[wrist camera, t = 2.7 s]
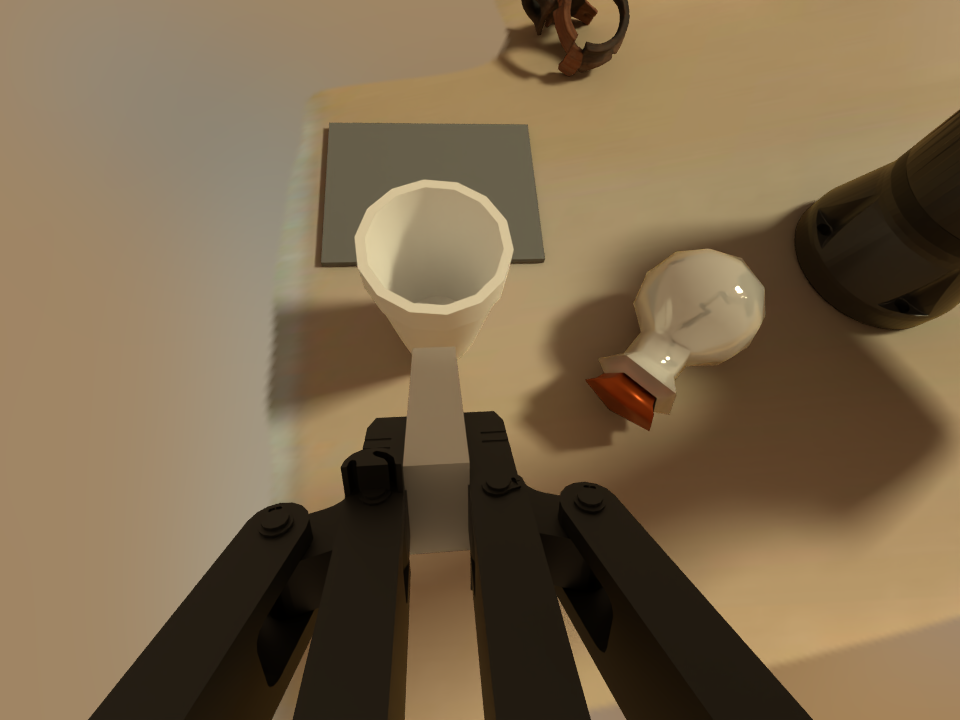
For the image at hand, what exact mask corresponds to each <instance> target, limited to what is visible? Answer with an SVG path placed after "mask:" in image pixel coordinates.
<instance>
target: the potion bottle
mask: <svg viewBox="0 0 960 720" xmlns="http://www.w3.org/2000/svg"><path fill="white" fill-rule="evenodd" d="M633 304H634V308H635V312H636V316H637V319H638V323H639V327H640V330H641V333H640V334H639V335H638V336H637V338H636V339H635V340H634V341H633V342H632V344H631V345H630V346H629V347H628V349H627V350H626V351H625V352H624V353H622V354H617V355H612V356H607V357H602V358H598V360H599V362H600V365H601V367H602V369H603V371H604V373H603V374H602V375H600V376H598V377H597V378H592V379H586V382H587V383H588V384H589V385H590V387H591V388H592V389H593V390H594V392H595V393H596V394H597V395H598V397H599V398H600V399H601V400H602V401H603V403H604V404H605V405H606V406H607V408H608V409H609V410H611V411H613V412H615V413H616V414H618V415H620V416H622V417H624V418H626V419H627V420H629V421H631V422H633V423H635V424H637V425H639V426H640V427H642V428H644V429H646V430H648V431H650V427H651V423H652V419H653V416H654V413H653V412H656V413H662V414H668V415H669V414H670V411H671V409H672V406H673V403H674V400H675V397H676V388H675V380H676V379H677V377H678V376H679V375H680V373H681V372H682V371H683V369H684V368H685V367H686V366H714V365H719V364H720V363H722V362H724V361H726V360H728V359H730V358H731V357H733V356H734V355H736V354H738V353H739V352H741V351H742V350H744V349H746V348H747V347H749V345H750V343H751V342H752V340H753V338H754V336H755V335H756V333H757V331H758V329H759V328H760V326H761V324H762V321H763V319H764V317H765V315H766V312H765V288H764V286H763V285H762V284H761V282H760V281H759V280H758V278H757V277H756V276H755V275H754V273H753V272H752V271H751V269H750V268H749V267H748V265H747V264H746V263H745V261H744V260H743V259H742V258H740V257H736V256H733V255H729V254H726V253H722V252H719V251H715V250H712V249H699V250H688V251H677V252H675V253H673V254H672V255H671V256H669V257H668V258H666V259H665V260H664V261H662V262H661V263H659V264H658V265H657V266H655V267H654V268H652V269H651V270H650V271H648V272H647V273H646V276H645V278H644V280H643V282H642V284H641V287H640V289H639V291H638V293H637V296H636V298H635V300H634V302H633Z"/></svg>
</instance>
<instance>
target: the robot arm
mask: <svg viewBox="0 0 960 720" xmlns="http://www.w3.org/2000/svg"><path fill="white" fill-rule="evenodd" d="M795 247H796V253H797V257H798V260H799V263H800V265H801V268H802V270H803V272H804V273H805V275H806V277H807V278H808V280H809V281H810V283H811V284H812V286H813V287H814V288H815V289H816V290H817V292H818V293H819V294H820V295H821V296H822V297H823V298H824V299H825V300H826V301H828V302H829V303H830V304H831V305H832V306H834V307H835V308H836V309H838V310H839V311H841V312H842V313H844V314H846V315H847V316H849V317H851V318H853V319H855V320H857V321H860V322H862V323H865V324H868V325H871V326H875V327H879V328H885V329H906V328H911V327H915V326H918V325H920V324H923V323H925V322H927V321H930V320H932V319H934V318H937V317H939V316H941V315H943V314H945V313H947V312H948V311H950V310H951V309H953V308H954V307H955V306H956V305H958V304H959V303H960V110H958V111H957V112H956V113H955V114H953V115H952V116H951V117H949V118H948V119H947V120H946V121H944V122H943V123H942V124H941V125H939V126H938V127H937V128H936V129H934V130H933V131H932V132H931V133H929V134H928V135H927V136H926V137H924V138H923V139H922V140H921V141H919V142H918V143H917V144H916V145H915V146H913V147H912V148H911V149H910V150H908V151H907V152H906V153H905V154H903V155H902V156H901V157H899V158H898V159H897V160H895V161H894V162H892V163H889V164H887V165H885V166H883V167H881V168H878V169H876V170H874V171H872V172H869V173H867V174H865V175H863V176H860V177H858V178H856V179H854V180H852V181H849V182H847V183H845V184H843V185H840V186H838V187H836V188H834V189H832V190H831V191H829V192H828V193H826V194H825V195H824V196H822V197H821V198H820V199H819V200H818V201H817V202H815V203H814V204H813V205H812V206H811V207H810V208H809V209H807V210H806V212H805V213H804V214H803V215H802V217H801V219H800V220H799V223H798V225H797V229H796V234H795ZM341 473H342V479H343V485H344V492H345V499H344V500H343V501H341V502H340V503H338V504H336V505H334V506H332V507H329V508H327V509H324V510H320V511H317V512H314V513H310V514H308V511H307V510H306V509H305V508H304V507H303V506H302V505H299V504H295V503H279V504H275V505H272V506H268V507H266V508H265V509H263V510H261V511H259V512H257V513H256V514H255V515H254V516H253V517H252V518H251V519H249V520H248V521H247V523H246V524H245V525H244V526H243V528H242V529H241V530H240V531H239V533H238V534H237V535H236V536H235V538H234V539H233V540H232V541H231V542H230V544H229V545H228V546H227V547H226V549H225V550H224V551H223V552H222V554H221V555H220V556H219V557H218V559H217V560H216V561H215V563H214V564H213V565H212V566H211V568H210V569H209V570H208V571H207V572H206V574H205V575H204V576H203V577H202V579H201V580H200V581H199V582H198V584H197V585H196V586H195V587H194V589H193V590H192V591H191V593H190V594H189V595H188V596H187V597H186V599H185V600H184V601H183V602H182V603H181V605H180V606H179V607H178V608H177V610H176V611H175V612H174V613H173V615H172V616H171V617H170V618H169V620H168V621H167V622H166V623H165V625H164V626H163V627H162V628H161V630H160V631H159V632H158V634H157V635H156V636H155V637H154V638H153V640H152V641H151V642H150V643H149V645H148V646H147V647H146V649H145V650H144V651H143V652H142V653H141V655H140V656H139V657H138V658H137V660H136V661H135V662H134V664H133V665H132V666H131V667H130V668H129V670H128V671H127V672H126V673H125V675H124V676H123V677H122V678H121V679H120V681H119V682H118V683H117V684H116V686H115V687H114V688H113V689H112V691H111V692H110V693H109V694H108V696H107V697H106V698H105V699H104V701H103V702H102V703H101V705H100V706H99V707H98V708H97V709H96V711H95V712H94V713H93V714H92V716H91V717H90V718H89V719H88V720H272V718H273V716H274V714H275V712H276V710H277V707H278V705H279V703H280V701H281V699H282V697H283V695H284V693H285V691H286V689H287V687H288V685H289V683H290V681H291V679H292V677H293V674H294V672H295V670H296V668H297V666H298V664H299V662H300V660H301V658H302V656H303V654H304V652H305V650H306V648H307V646H308V643H309V641H310V639H311V637H312V640H311V644H310V648H309V653H308V657H307V661H306V665H305V670H304V674H303V678H302V682H301V687H300V691H299V695H298V699H297V704H296V708H295V712H294V716H293V720H405V697H406V673H407V649H408V625H409V601H410V576H411V572H410V560H409V555H411V554H424V553H437V552H450V551H463V550H470V556H471V590H473V600H474V611H475V621H476V632H477V643H478V654H479V665H480V675H481V686H482V697H483V708H484V719H485V720H591V719H590V715H589V711H588V708H587V704H586V700H585V697H584V693H583V690H582V686H581V682H580V679H579V675H578V672H577V668H576V664H575V661H574V657H573V653H572V650H571V646H570V643H569V639H568V635H567V632H566V628H565V625H564V621H563V617H562V614H561V610H560V606H559V603H558V599H557V597H558V598H559V600H560V602H561V604H562V606H563V607H564V609H565V611H566V613H567V614H568V616H569V618H570V620H571V622H572V623H573V625H574V627H575V629H576V631H577V632H578V634H579V636H580V638H581V639H582V641H583V643H584V645H585V647H586V648H587V650H588V652H589V654H590V655H591V657H592V659H593V661H594V663H595V664H596V666H597V668H598V670H599V672H600V673H601V675H602V677H603V679H604V680H605V682H606V684H607V686H608V688H609V689H610V691H611V693H612V695H613V697H614V698H615V700H616V702H617V704H618V705H619V707H620V709H621V710H622V712H623V714H624V716H625V718H626V719H627V720H813V719H812V718H811V717H810V716H809V715H808V714H807V712H806V711H805V710H804V709H803V708H802V707H801V706H800V705H799V703H798V702H797V701H796V700H795V699H794V698H793V697H792V695H791V694H790V693H789V692H788V691H787V690H786V689H785V688H784V686H783V685H782V684H781V683H780V682H779V681H778V680H777V678H776V677H775V676H774V675H773V674H772V673H771V672H770V670H769V669H768V668H767V667H766V666H765V665H764V664H763V663H762V661H761V660H760V659H759V658H758V657H757V656H756V655H755V653H754V652H753V651H752V650H751V649H750V648H749V647H748V646H747V644H746V643H745V642H744V641H743V640H742V639H741V638H740V636H739V635H738V634H737V633H736V632H735V631H734V630H733V629H732V627H731V626H730V625H729V624H728V623H727V622H726V621H725V620H724V618H723V617H722V616H721V615H720V614H719V613H718V612H717V610H716V609H715V608H714V607H713V606H712V605H711V604H710V603H709V601H708V600H707V599H706V598H705V597H704V596H703V595H702V593H701V592H700V591H699V590H698V589H697V588H696V587H695V586H694V584H693V583H692V582H691V581H690V580H689V579H688V578H687V577H686V575H685V574H684V573H683V572H682V571H681V570H680V569H679V567H678V566H677V565H676V564H675V563H674V562H673V561H672V560H671V558H670V557H669V556H668V555H667V554H666V553H665V552H664V550H663V549H662V548H661V547H660V546H659V545H658V544H657V543H656V541H655V540H654V539H653V538H652V537H651V536H650V535H649V533H648V532H647V531H646V530H645V529H644V528H643V527H642V526H641V524H640V523H639V522H638V521H637V520H636V519H635V518H634V517H633V515H632V514H631V513H630V512H629V511H628V510H627V509H626V507H625V506H624V505H623V504H622V503H621V502H620V501H619V500H618V498H617V497H616V496H615V495H614V494H613V493H611V492H610V491H609V490H608V489H607V488H604V487H602V486H600V485H598V484H594V483H588V482H579V483H573V484H571V485H569V486H566V487H565V488H564V489H563V491H562V492H561V494H560V496H559V495H554V494H548V493H543V492H540V491H536V490H534V489H532V488H530V487H528V486H527V485H526V484H525V482H524V481H523V479H522V477H520V476H519V475H518V474H517V471H516V467H515V463H514V459H513V456H512V452H511V448H510V444H509V442H508V437H507V433H506V429H505V425H504V422H503V420H502V419H501V418H500V417H499V416H498V415H497V414H496V413H495V412H494V411H487V412H467V413H463V406H462V398H461V390H460V382H459V374H458V366H457V357H456V349H455V347H433V348H413V350H412V362H411V374H410V386H409V398H408V410H407V417H389V418H376V419H375V420H374V421H373V422H372V424H371V425H370V426H369V427H368V428H367V432H366V436H365V442H364V445H363V450H361V451H359V452H356V453H354V454H352V455H351V456H349V457H348V458H347V459H346V460H345V461H344V462H343V464H342V466H341ZM556 595H557V596H556ZM312 635H313V636H312Z"/></svg>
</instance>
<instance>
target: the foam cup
mask: <svg viewBox="0 0 960 720" xmlns="http://www.w3.org/2000/svg"><path fill="white" fill-rule="evenodd" d="M355 247H356V256H357V266H358V270H359V273H360V276H361V279H362V282H363V285H364V288H365V289H366V290H367V292H368V293H369V295H370V296H371V297H372V299H373V300H374V302H375V303H376V304H377V306H378V307H379V309H380V310H381V311H382V313H383V314H385V315H386V317H387V318H388V320H389V321H390V323H391V325H392V326H393V328H394V329H395V331H396V332H397V334H398V336H399V337H400V339H401V340H402V342H403V343H404V345H405V346H406V347H407V349H408V350H409V352H410V353H411V354H412V350H413V348H433V347H455V349H456V357H457V360H458V359H460V358H461V357H462V356H463V355H464V354H465V352H466V351H467V350H468V349H469V348H470V347H471V345H472V344H473V342H474V340H475V338H476V336H477V335H478V333H479V331H480V329H481V327H482V325H483V323H484V321H485V319H486V318H487V316H488V314H489V312H490V310H491V308H492V306H493V305H494V304H495V303H496V302H497V301H498V300H499V299H500V298H501V295H502V291H503V288H504V284H505V281H506V278H507V274H508V271H509V267H510V263H511V259H512V255H513V251H514V249H513V244H512V240H511V236H510V232H509V227H508V223H507V220H506V219H505V218H504V216H503V215H502V214H501V213H500V212H499V211H498V209H497V208H496V207H495V206H494V205H493V204H492V202H491V201H490V200H489V199H488V198H487V197H486V196H484V195H482V194H480V193H478V192H476V191H474V190H472V189H470V188H468V187H466V186H464V185H462V184H460V183H458V182H447V181H436V180H420V181H417V182H413V183H410V184H406V185H403V186H400V187H396V188H393V189H391V190H390V191H388V192H387V193H386V194H385V195H383V196H382V197H381V198H380V199H379V200H377V201H376V202H375V203H374V204H372V205H371V206H370V207H369V208H367V210H366V212H365V214H364V217H363V219H362V221H361V223H360V226H359V228H358V230H357V232H356V235H355Z"/></svg>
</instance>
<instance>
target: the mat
mask: <svg viewBox="0 0 960 720" xmlns="http://www.w3.org/2000/svg"><path fill="white" fill-rule="evenodd" d="M420 180H436V181H447V182H458V183H460V184H462V185H464V186H466V187H468V188H470V189H472V190H474V191H476V192H478V193H480V194H482V195H484V196H486V197H487V198H488V199H489V200H490V201H491V202H492V204H493V205H494V206H495V207H496V208H497V209H498V211H499V212H500V213H501V214H502V215H503V216H504V218H505V219H506V220H507V223H508V227H509V232H510V236H511V240H512V244H513V249H514V251H513V255H512V259H511V263H534V262H544V260H545V256H544V248H543V240H542V233H541V225H540V217H539V209H538V202H537V194H536V186H535V178H534V170H533V163H532V155H531V147H530V139H529V132H528V125H517V124H411V123H329V136H328V153H327V171H326V188H325V205H324V222H323V239H322V256H321V264H322V266H357V256H356V247H355V235H356V232H357V230H358V228H359V226H360V223H361V221H362V219H363V217H364V214H365V212H366V210H367V208H369V207H370V206H371V205H372V204H374V203H375V202H376V201H377V200H379V199H380V198H381V197H382V196H383V195H385V194H386V193H387V192H388V191H390V190H391V189H393V188H396V187H400V186H403V185H406V184H410V183H413V182H417V181H420Z"/></svg>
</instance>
